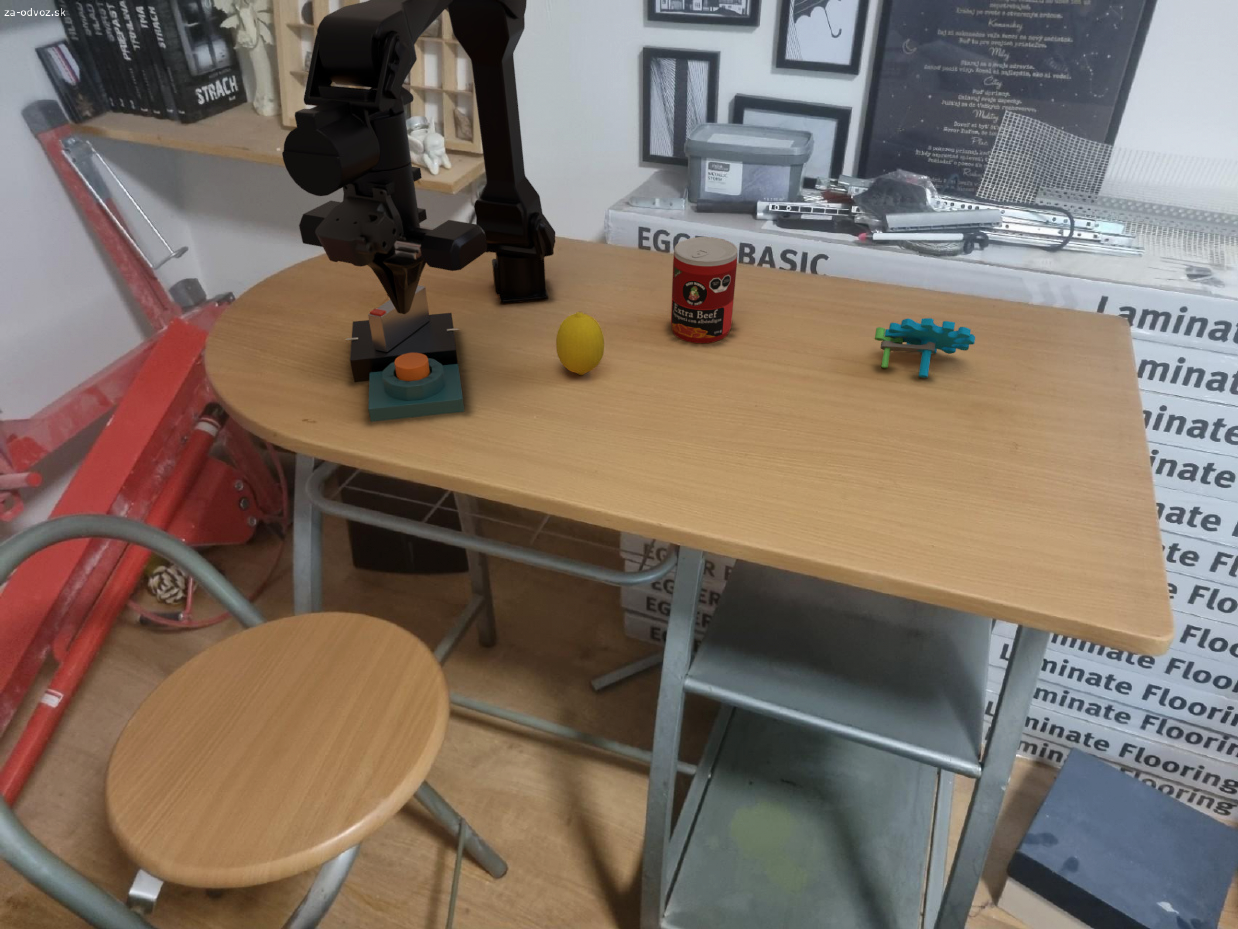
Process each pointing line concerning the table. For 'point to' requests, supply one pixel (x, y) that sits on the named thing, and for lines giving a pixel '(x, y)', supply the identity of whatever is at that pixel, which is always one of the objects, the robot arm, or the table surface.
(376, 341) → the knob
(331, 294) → the table surface
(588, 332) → the lemon
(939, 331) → the gear
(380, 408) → the control block
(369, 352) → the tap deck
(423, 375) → the button
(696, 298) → the canned food
